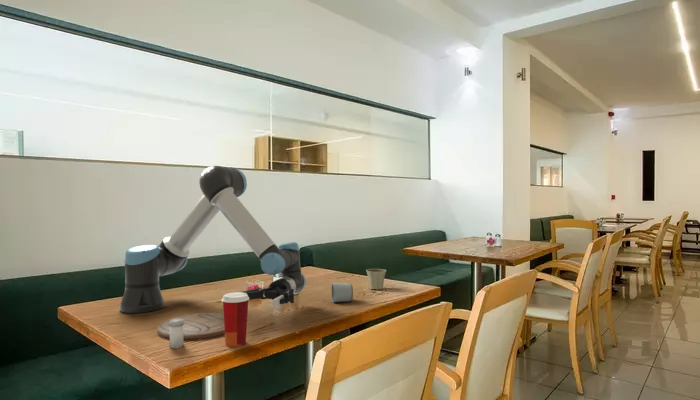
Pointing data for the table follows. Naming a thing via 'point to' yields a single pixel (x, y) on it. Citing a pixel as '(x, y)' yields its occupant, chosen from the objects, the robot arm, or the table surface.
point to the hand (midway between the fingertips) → (253, 303)
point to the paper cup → (235, 318)
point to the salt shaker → (176, 333)
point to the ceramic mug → (341, 292)
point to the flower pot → (376, 278)
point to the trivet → (197, 326)
